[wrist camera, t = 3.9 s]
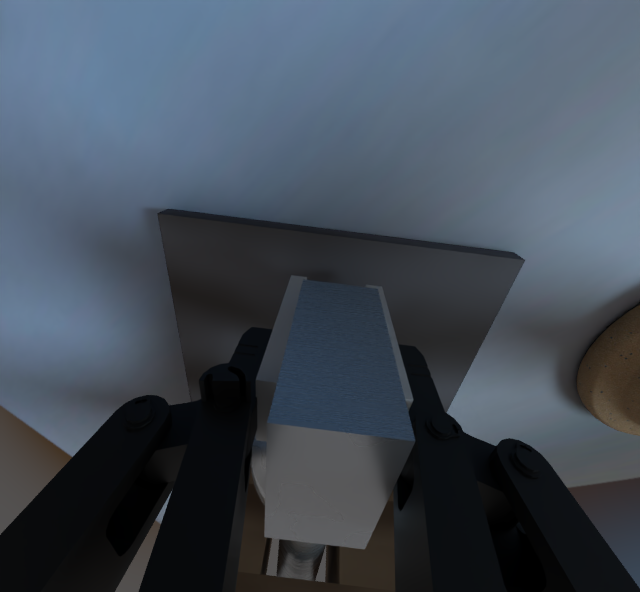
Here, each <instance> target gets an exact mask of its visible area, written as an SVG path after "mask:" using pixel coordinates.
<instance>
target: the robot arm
mask: <svg viewBox="0 0 640 592" xmlns="http://www.w3.org/2000/svg"><path fill="white" fill-rule="evenodd" d="M303 279H305V280H307V277H302V276H294V275H291V277H290V280H289V283H288V286H287V289H286V292H285V295H284V298H283V301H282V304H281V307H280V310H279V313H278V316H277V319H276V322H275V324H274V327H273V329H266V328H258V327H251V328H250V329H248V330H247V331H246V332H245V333H244V334H243V335H242V337H241V339H240V341H239V343H238V346H237V347H236V349H235V351H234V354H233V355H232V357H231V359H230V361H229V363H224V364H219V365H216V366H213V367H211V368H210V369H208V370H207V371H206V372H204V373H203V374H202V376H201V377H200V379H199V387H200V394H201V399H200V400H197V401H193V402H189V403H183V404H176V405H170V406H169V405H168V403H167V402H166V400H165V399H164V398H161V397H159V396H155V395H146V396H142V397H137V398H135V399H133V400H131V401H129V402H127V403H125V404H124V405H122V406H121V407H120V408H119V409H118V410H116V411H115V412H114V413H113V415H112V416H111V417H110V418H109V419H108V420H107V421H106V422H105V423H104V424H103V425H102V426H101V427H100V428H99V430H98V431H97V432H96V433H95V434H94V435H93V436H92V437H91V438H90V439H89V440H88V441H87V442H86V443H85V445H84V446H83V447H82V448H81V449H80V450H79V451H78V452H77V453H76V454H75V455H74V456H73V457H72V458H71V460H70V461H69V462H68V463H67V464H66V465H65V466H64V467H63V468H62V469H61V470H60V471H59V472H58V473H57V475H56V476H55V477H54V478H53V479H52V480H51V481H50V482H49V483H48V484H47V485H46V486H45V487H44V489H43V490H42V491H41V492H40V493H39V494H38V495H37V496H36V497H35V498H34V499H33V501H32V502H31V503H29V505H28V506H27V507H26V508H25V509H24V510H23V511H22V512H21V513H20V514H19V515H18V516H17V518H16V519H15V520H14V521H13V522H12V523H11V524H10V525H9V526H8V527H7V528H6V529H5V530H4V531H3V532H2V533H1V535H0V592H115V590H116V588H117V587H118V585H119V583H120V581H121V580H122V578H123V576H124V574H125V572H126V571H127V569H128V567H129V565H130V564H131V562H132V560H133V558H134V557H135V555H136V553H137V551H138V549H139V548H140V546H141V544H142V542H143V541H144V539H145V537H146V535H147V534H148V532H149V530H150V528H151V526H152V525H153V523H154V521H155V519H156V518H157V516H158V514H159V512H160V510H161V509H162V507H163V505H164V503H165V502H166V500H167V498H168V496H169V495H170V493H171V491H172V493H171V496H170V499H169V502H168V505H167V508H166V511H165V514H164V517H163V520H162V523H161V526H160V529H159V532H158V535H157V538H156V541H155V544H154V547H153V550H152V553H151V556H150V559H149V562H148V565H147V568H146V571H145V574H144V577H143V580H142V583H141V586H140V589H139V592H235V591H236V583H237V575H238V567H239V558H240V550H241V542H242V534H243V526H244V518H245V510H246V502H247V494H248V486H249V478H250V470H251V462H252V445H253V442H254V438H255V435H256V440H258V441H266V442H267V421H268V417H269V413H270V409H271V405H272V401H273V397H274V393H275V389H276V385H277V381H278V377H279V373H280V369H281V365H282V361H283V357H284V353H285V349H286V345H287V341H288V337H289V333H290V329H291V325H292V321H293V317H294V313H295V309H296V305H297V301H298V297H299V293H300V289H301V285H302V281H303ZM366 287H368V288H376V289H378V292H379V296H380V300H381V304H382V308H383V312H384V316H385V320H386V324H387V328H388V332H389V336H390V340H391V344H392V348H393V352H394V356H395V360H396V364H397V368H398V372H399V376H400V381H401V385H402V389H403V393H404V397H405V401H406V405H407V409H408V413H409V417H410V421H411V425H412V429H413V433H414V437H415V443H414V446H413V448H412V450H411V452H410V454H409V456H408V458H407V461H406V463H405V465H404V467H403V469H402V471H401V473H400V475H399V478H398V480H397V482H396V484H395V486H394V488H393V504H394V553H395V592H640V588H639V587H638V586H637V584H636V583H635V581H634V580H633V579H632V577H631V576H630V574H629V573H628V572H627V571H626V569H625V568H624V566H623V565H622V563H621V562H620V561H619V559H618V558H617V556H616V555H615V554H614V552H613V551H612V550H611V548H610V547H609V545H608V544H607V543H606V541H605V540H604V539H603V537H602V536H601V534H600V533H599V532H598V530H597V529H596V528H595V526H594V525H593V523H592V522H591V521H590V519H589V518H588V516H587V515H586V514H585V512H584V511H583V510H582V508H581V507H580V506H579V504H578V503H577V501H576V500H575V498H574V497H573V496H572V494H571V493H570V491H569V490H568V489H567V487H566V486H565V485H564V483H563V482H562V480H561V479H560V478H559V476H558V475H557V473H556V472H555V471H554V469H553V468H552V467H551V465H550V464H549V463H548V461H547V460H546V459H545V458H544V457H543V456H542V455H541V454H540V453H539V452H538V451H536V450H535V449H534V448H532V447H531V446H530V445H527V444H525V443H523V442H521V441H519V440H515V439H510V438H509V439H504V440H501V441H500V443H499V444H498V445H497V446H494V445H492V444H489V443H487V442H484V441H482V440H479V439H477V438H474V437H472V436H470V435H468V434H466V433H464V432H463V430H462V428H461V426H460V425H459V424H458V423H457V421H456V420H455V419H454V418H453V417H451V416H450V415H448V414H447V413H446V412H445V411H444V408H443V405H442V403H441V400H440V397H439V395H438V392H437V389H436V387H435V384H434V381H433V379H432V378H431V374H430V371H429V369H428V366H427V363H426V360H425V358H424V356H423V355H422V353H421V352H420V351H419V350H418V349H417V348H416V347H415V346H408V345H400V344H398V342H397V339H396V335H395V331H394V328H393V324H392V321H391V317H390V313H389V310H388V306H387V303H386V299H385V295H384V292H383V288H382V287H381V286H374V285H366ZM172 489H173V490H172Z"/></svg>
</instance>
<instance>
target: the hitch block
mask: <svg viewBox="0 0 640 592" xmlns="http://www.w3.org/2000/svg"><path fill="white" fill-rule="evenodd" d="M158 219H159V225H160V230H161V236H162V242H163V247H164V253H165V258H166V264H167V269H168V275H169V280H170V286H171V292H172V297H173V303H174V308H175V314H176V319H177V325H178V331H179V336H180V342H181V347H182V353H183V358H184V364H185V370H186V375H187V381H188V386H189V392H190V397H191V402H193V401H197V400H200V399H201V394H200V387H199V379H200V377H201V376H202V374H203V373H204V372H206V371H207V370H208V369H210V368H211V367H213V366H216V365H219V364H224V363H229V361H230V359H231V357H232V355H233V354H234V351H235V349H236V347H237V346H238V343H239V341H240V339H241V337H242V335H243V334H244V333H245V332H246V331H247V330H248V329H250V328H251V327H258V328H266V329H273V327H274V324H275V322H276V319H277V316H278V313H279V310H280V307H281V304H282V301H283V298H284V295H285V292H286V289H287V286H288V283H289V280H290V277H291V275H294V276H302V277H307V280H313V281H321V282H328V283H336V284H344V285H352V286H360V287H366V285H374V286H381V287H382V288H383V292H384V295H385V299H386V303H387V306H388V310H389V313H390V317H391V321H392V324H393V328H394V331H395V335H396V339H397V342H398V344H400V345H408V346H415V347H416V348H417V349H418V350H419V351H420V352H421V353H422V355H423V356H424V358H425V360H426V363H427V366H428V369H429V371H430V374H431V378H432V379H433V381H434V384H435V387H436V389H437V392H438V395H439V397H440V400H441V403H442V405H443V408H444V411H445V412H447V410H448V408H449V407H450V405H451V403H452V401H453V399H454V397H455V395H456V393H457V391H458V389H459V387H460V385H461V383H462V381H463V379H464V377H465V376H466V374H467V372H468V370H469V368H470V366H471V364H472V362H473V360H474V358H475V356H476V354H477V352H478V350H479V348H480V346H481V345H482V343H483V341H484V339H485V337H486V335H487V333H488V331H489V329H490V327H491V325H492V323H493V321H494V319H495V317H496V315H497V314H498V312H499V310H500V308H501V306H502V304H503V302H504V300H505V298H506V296H507V294H508V292H509V290H510V288H511V286H512V284H513V283H514V281H515V279H516V277H517V275H518V273H519V271H520V269H521V267H522V265H523V263H524V261H525V260H524V259H523V258H521V257H520V256H518V255H517V254H515V253H513V252H505V251H497V250H489V249H481V248H473V247H465V246H458V245H450V244H442V243H434V242H426V241H418V240H410V239H402V238H394V237H387V236H379V235H371V234H363V233H355V232H347V231H339V230H331V229H323V228H316V227H308V226H300V225H292V224H284V223H276V222H268V221H260V220H252V219H245V218H237V217H229V216H221V215H213V214H205V213H197V212H189V211H181V210H174V209H167V210H165V211H162V212H160V213H158ZM264 530H265V506H264V505H263V503H262V502H261V500H260V498H259V496H258V494H257V491H256V488H255V486H254V482H253V477H252V467H251V470H250V478H249V486H248V494H247V502H246V510H245V518H244V526H243V534H242V542H241V550H240V558H239V567H238V575H237V583H236V591H235V592H395V553H394V504H393V490H392V493H391V495H390V497H389V499H388V501H387V503H386V505H385V508H384V510H383V512H382V514H381V516H380V518H379V520H378V522H377V525H376V527H375V529H374V531H373V533H372V535H371V537H370V540H369V542H368V544H367V546H366V548H365V549H357V548H349V547H341V546H333V545H326V577H325V582H318V581H310V580H302V579H293V578H285V577H277V576H269V575H266V572H267V566H268V560H269V554H270V548H271V542H272V538H268V537H264Z"/></svg>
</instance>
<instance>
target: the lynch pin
mask: <svg viewBox="0 0 640 592" xmlns="http://www.w3.org/2000/svg"><path fill="white" fill-rule="evenodd" d="M414 443H415V437H414V433H413V429H412V425H411V421H410V417H409V413H408V409H407V405H406V401H405V397H404V393H403V389H402V385H401V381H400V376H399V372H398V368H397V364H396V360H395V356H394V352H393V348H392V344H391V340H390V336H389V332H388V328H387V324H386V320H385V316H384V312H383V308H382V304H381V300H380V296H379V292H378V289H376V288H368V287H360V286H352V285H344V284H336V283H328V282H321V281H313V280H305V279H303V281H302V285H301V289H300V293H299V297H298V301H297V305H296V309H295V313H294V317H293V321H292V325H291V329H290V333H289V337H288V341H287V345H286V349H285V353H284V357H283V361H282V365H281V369H280V373H279V377H278V381H277V385H276V389H275V393H274V397H273V401H272V405H271V409H270V413H269V417H268V421H267V442H266V441H258V440H256V435H255V438H254V442H253V445H252V462H251V467H252V477H253V482H254V486H255V488H256V491H257V494H258V496H259V498H260V500H261V502H262V503H263V505H264V506H265V530H264V537H268V538H276V539H279V550H278V562H277V577H285V578H293V579H302V580H310V581H315V580H316V576H317V573H318V570H319V566H320V563H321V559H322V556H323V552H324V549H325V546H326V545H333V546H341V547H349V548H357V549H365V548H366V546H367V544H368V542H369V540H370V537H371V535H372V533H373V531H374V529H375V527H376V525H377V522H378V520H379V518H380V516H381V514H382V512H383V510H384V508H385V505H386V503H387V501H388V499H389V497H390V495H391V493H392V490H393V488H394V486H395V484H396V482H397V480H398V478H399V475H400V473H401V471H402V469H403V467H404V465H405V463H406V461H407V458H408V456H409V454H410V452H411V450H412V448H413V446H414Z"/></svg>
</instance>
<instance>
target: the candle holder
mask: <svg viewBox="0 0 640 592" xmlns="http://www.w3.org/2000/svg"><path fill="white" fill-rule="evenodd" d="M577 390H578V393H579V396H580V398H581V400H582V402H583V404H584V405H585V407H586V408H587V409H588V410H589V411H590V413H591V414H592V415H593V416H594V417H596V418H597V419H598V420H600V421H601V422H602V423H604V424H606V425H607V426H609V427H611V428H614V429H616V430H618V431H621V432H625V433H629V434H633V435H639V436H640V305H638V306H636V307H635V308H633V309H632V310H630V311H629V312H627V313H626V314H624V315H623V316H622V317H621V318H619V319H618V320H617V321H615V322H614V323H613V324H612V325H610V326H609V327H608V328H607V329H606V330H605V331H604V332H603V333H602V334H601V335H600V336H599V337H598V338H597V340H596V341H595V342H594V343H593V344H592V346H591V347H590V348H589V350H588V351H587V353H586V355H585V356H584V358H583V360H582V362H581V365H580V367H579V370H578V375H577Z"/></svg>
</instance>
